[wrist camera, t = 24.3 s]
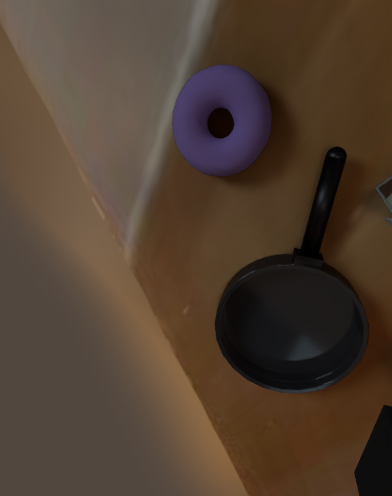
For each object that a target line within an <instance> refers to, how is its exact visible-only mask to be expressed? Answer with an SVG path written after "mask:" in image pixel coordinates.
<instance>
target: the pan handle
mask: <svg viewBox="0 0 392 496" xmlns="http://www.w3.org/2000/svg"><path fill="white" fill-rule="evenodd" d="M346 158H347V154H346V152H345V150H344V149H343V148H341V147H333V148H331V149H330V150H329V151H328V152H327V154H326V157H325V160H324V164H323V168H322V172H321V175H320V179H319V183H318V186H317V190H316V194H315V197H314V201H313V205H312V209H311V212H310V216H309V220H308V223H307V227H306V231H305V235H304V238H303V242H302V246H301V249H297V248H294V252H293V255H292V262H293V265H296V266H297V265H300V266H304V267H309V268H314V269H317V270H320V271H321V269H322V265H323V262H324V259H323V256H322V254H321V253H319V251H320V247H321V244H322V240H323V237H324V233H325V230H326V227H327V223H328V220H329V216H330V213H331V209H332V206H333V203H334V199H335V196H336V192H337V189H338V185H339V182H340V179H341V175H342V172H343V168H344V165H345V161H346Z"/></svg>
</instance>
